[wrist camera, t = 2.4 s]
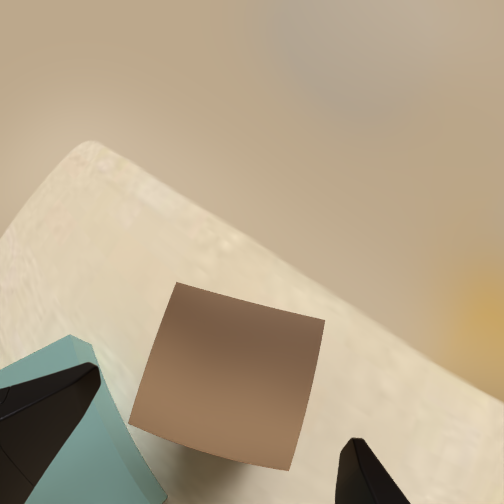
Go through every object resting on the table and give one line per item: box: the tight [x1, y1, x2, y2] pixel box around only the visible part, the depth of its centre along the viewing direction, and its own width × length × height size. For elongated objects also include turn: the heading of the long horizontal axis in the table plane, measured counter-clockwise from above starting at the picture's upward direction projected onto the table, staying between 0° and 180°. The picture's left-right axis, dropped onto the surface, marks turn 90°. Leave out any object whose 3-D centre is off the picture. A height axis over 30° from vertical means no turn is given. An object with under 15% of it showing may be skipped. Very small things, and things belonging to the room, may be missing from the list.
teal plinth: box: [0, 335, 168, 504], centre depth 12 cm, size 12×12×3 cm
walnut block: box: [128, 282, 325, 471], centre depth 12 cm, size 5×5×10 cm
